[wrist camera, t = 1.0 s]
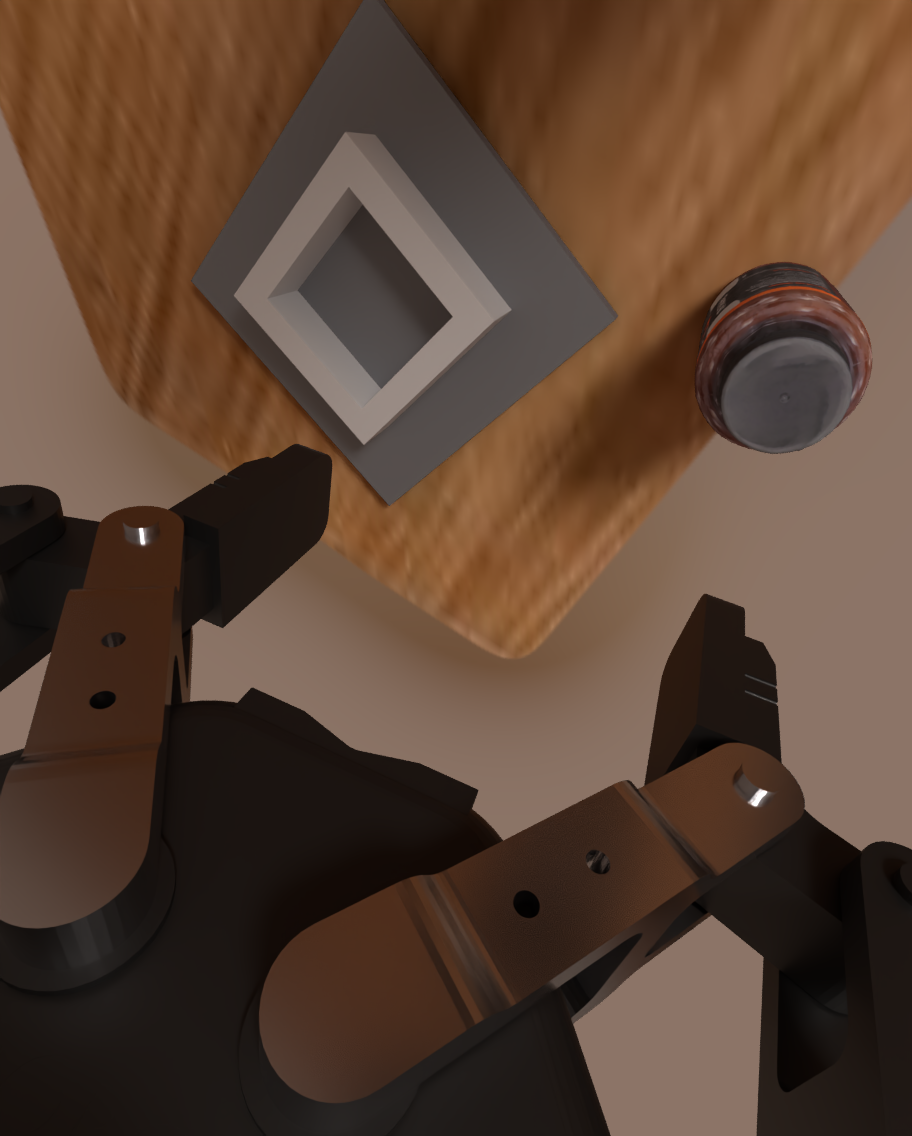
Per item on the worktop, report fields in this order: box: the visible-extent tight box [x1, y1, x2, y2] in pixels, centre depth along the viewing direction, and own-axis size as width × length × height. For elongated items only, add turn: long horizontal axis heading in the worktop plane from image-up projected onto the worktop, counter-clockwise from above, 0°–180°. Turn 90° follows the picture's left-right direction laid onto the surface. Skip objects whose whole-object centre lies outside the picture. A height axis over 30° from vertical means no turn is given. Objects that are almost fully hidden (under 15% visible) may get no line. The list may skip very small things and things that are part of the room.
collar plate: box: [191, 0, 618, 506], centre depth 34 cm, size 18×18×4 cm
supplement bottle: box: [695, 262, 872, 454], centre depth 26 cm, size 6×6×11 cm
